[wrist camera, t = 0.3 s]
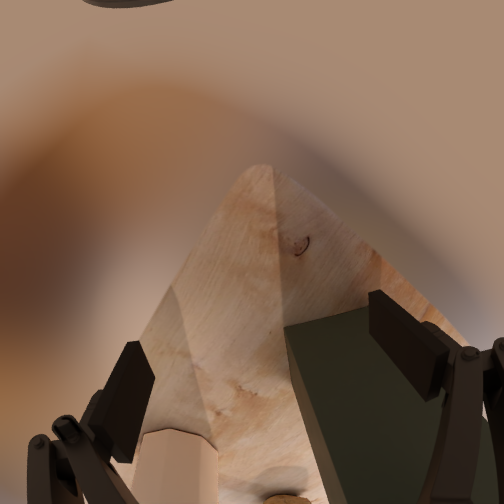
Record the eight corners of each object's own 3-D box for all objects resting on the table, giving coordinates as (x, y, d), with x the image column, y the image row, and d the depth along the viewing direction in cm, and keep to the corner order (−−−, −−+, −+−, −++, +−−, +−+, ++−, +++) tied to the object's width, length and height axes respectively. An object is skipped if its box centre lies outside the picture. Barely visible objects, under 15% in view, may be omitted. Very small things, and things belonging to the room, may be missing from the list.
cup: (222, 469, 34) (226, 571, 17) (151, 467, 34) (137, 562, 16) (212, 427, 32) (212, 556, 14) (130, 424, 31) (99, 540, 13)
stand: (283, 327, 28) (385, 610, 2) (373, 304, 29) (549, 496, 3) (291, 384, 30) (362, 608, 4) (372, 362, 31) (491, 540, 5)
